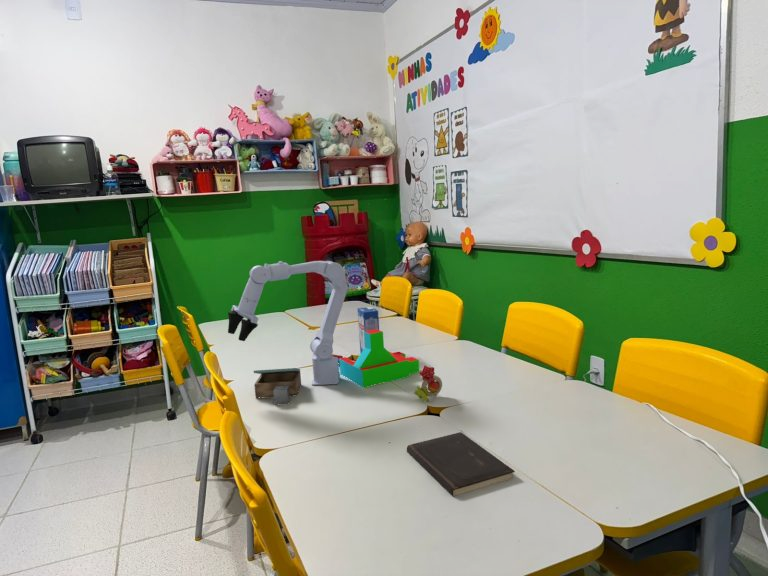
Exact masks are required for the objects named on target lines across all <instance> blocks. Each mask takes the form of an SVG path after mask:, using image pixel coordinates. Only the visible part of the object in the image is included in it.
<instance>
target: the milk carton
mask: <svg viewBox="0 0 768 576" xmlns="http://www.w3.org/2000/svg"><path fill="white" fill-rule="evenodd" d="M357 323H358V337H359V350H360V351H359V352H360V354H361V353H362V351H363V349H364V348H365V341H364V331H370V330H375V329H377V330H380V319H379V310H378V309H376V308H374V307H373V306H367V307H359V308H357Z"/></svg>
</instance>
